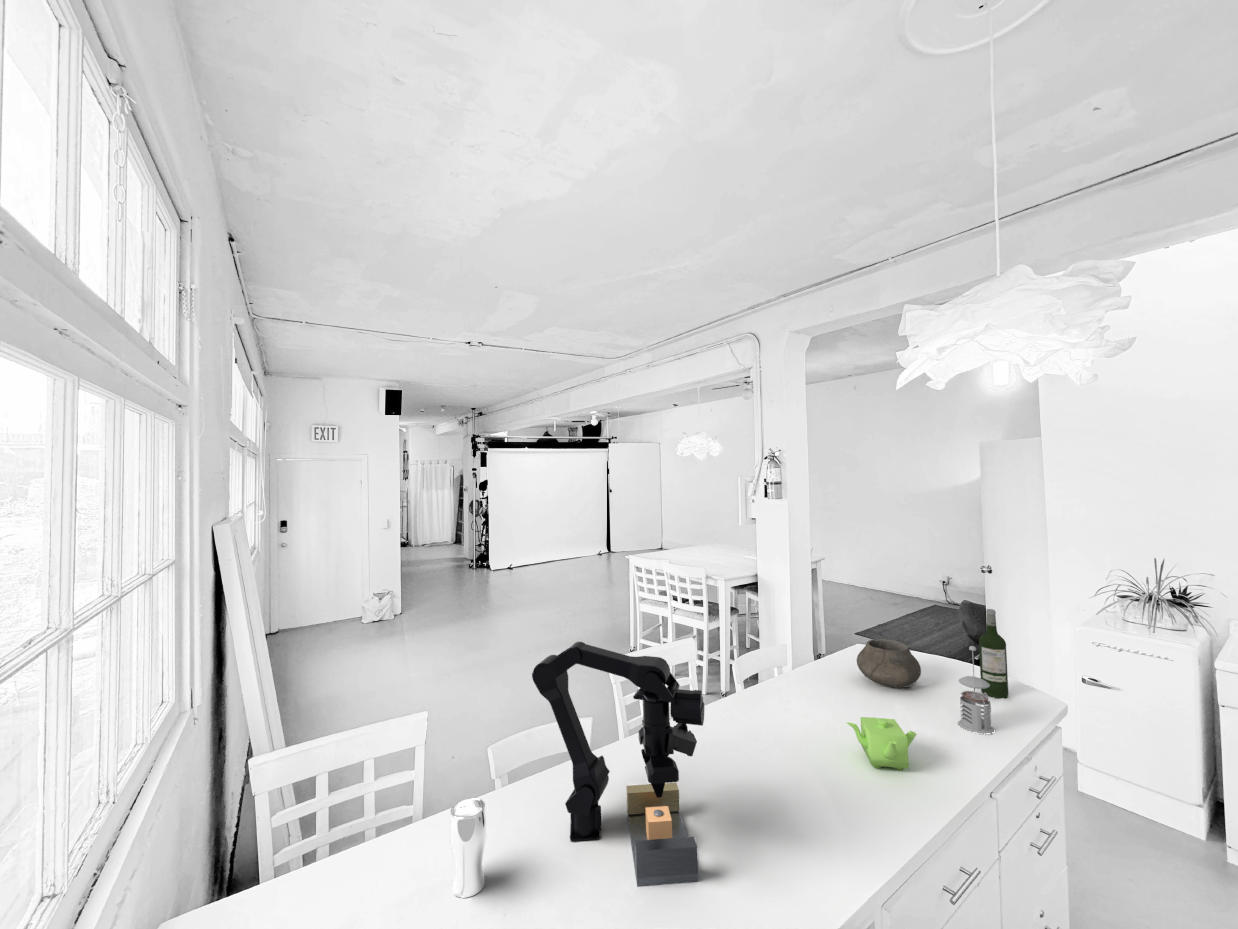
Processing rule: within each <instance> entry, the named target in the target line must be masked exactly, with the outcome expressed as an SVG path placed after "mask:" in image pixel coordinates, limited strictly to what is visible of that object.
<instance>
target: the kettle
mask: <svg viewBox="0 0 1238 929" xmlns="http://www.w3.org/2000/svg"><path fill="white" fill-rule="evenodd" d="M846 724H847V725H848V726H850V727H852V729H853V731H854V732H855V735H856V739H857V742H859V744H860V745H861V747H862V749H863V751H864V753H865V755H866V757H867V759H868V761H869V763H870V765H871V766H872V767H873V768H875V769H881V768H882V767H886V768H894V769H895V770H897V771H903V770H904V769H907V770H908V769H909V767H910V766H909V747H910V745H911V744H912V743H913V740H914V739H915V738H916V736H917V733H916V732H915V731H913V730H909V731H908V732H907V733H905V732H904V731H903V728H901V726H900V725H899V723H898V722H897V721H896V720H895V719H894V718H882V717H866V716H863V717H862V716H860V729H859V726H858V725H857V724H856V723H853V722H846Z"/></svg>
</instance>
